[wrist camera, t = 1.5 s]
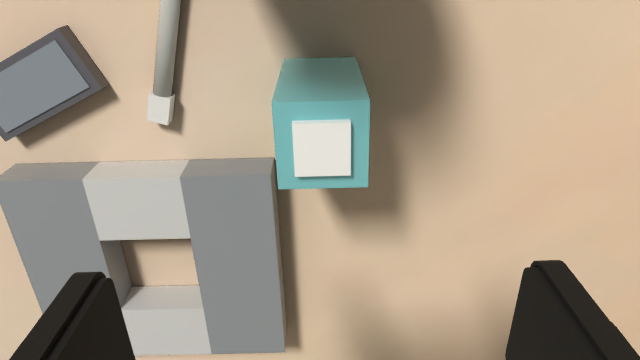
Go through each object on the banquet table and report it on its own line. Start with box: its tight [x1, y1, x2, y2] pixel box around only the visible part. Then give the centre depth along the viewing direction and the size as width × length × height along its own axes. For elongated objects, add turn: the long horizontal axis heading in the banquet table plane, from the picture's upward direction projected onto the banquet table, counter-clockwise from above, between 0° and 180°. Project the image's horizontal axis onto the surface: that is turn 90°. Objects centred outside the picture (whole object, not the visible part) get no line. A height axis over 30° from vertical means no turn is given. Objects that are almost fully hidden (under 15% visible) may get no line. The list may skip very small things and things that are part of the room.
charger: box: [272, 57, 370, 189], centre depth 23 cm, size 4×4×8 cm
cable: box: [147, 0, 181, 125], centre depth 25 cm, size 11×1×1 cm, turn 166°
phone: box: [0, 25, 109, 142], centre depth 26 cm, size 7×4×1 cm, turn 116°
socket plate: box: [0, 158, 287, 356], centre depth 31 cm, size 16×14×2 cm
